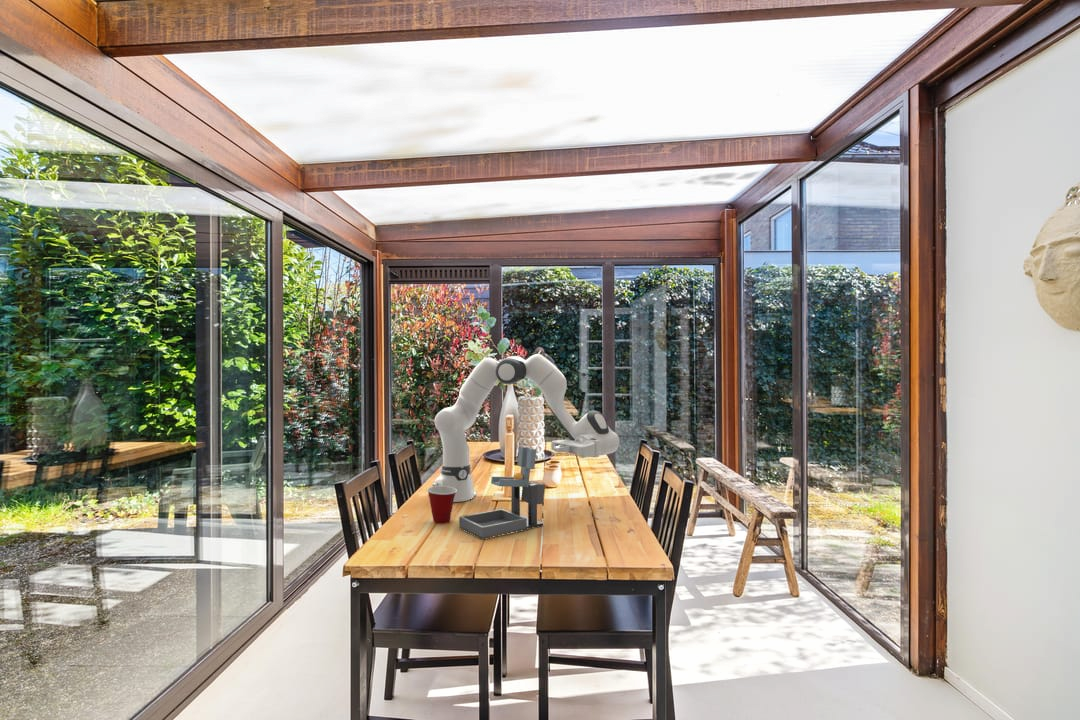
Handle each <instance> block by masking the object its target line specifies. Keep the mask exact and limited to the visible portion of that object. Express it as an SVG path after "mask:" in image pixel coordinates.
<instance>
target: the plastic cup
mask: <svg viewBox="0 0 1080 720" xmlns="http://www.w3.org/2000/svg"><path fill="white" fill-rule="evenodd" d="M426 491H427V493H429V495H428V497H429V502H430V508H431V509H430V510H431V514H432V520H433V523H434V524H447V522H448V523H450V520H451V517H452V512H453V505H454V502H453V501H454V496H455V493H456V492H457V489H455V488H453V487H447V486H434V487H432V486H430V487H427V489H426Z"/></svg>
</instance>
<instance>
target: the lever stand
mask: <svg viewBox="0 0 1080 720" xmlns="http://www.w3.org/2000/svg"><path fill="white" fill-rule="evenodd" d="M510 490H511V491H510V492H511V495H510V497H511V500H510V501H511V503H510V504H511V505H510V506H511V507H510V508H511V511H510V512H511V513H514V514H516V515H519V516H521V517H524V518H526V519H527V528H531V529H533V528H532V527H535V528H538V527H537V526H540V527H544V522H542V521H539V520H538V504H537V485H536V484H529V485H528V503H527V504H528V505H527V507H528V508H527V516H526V515H524V514H521V487H511V489H510Z"/></svg>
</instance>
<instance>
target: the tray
mask: <svg viewBox="0 0 1080 720" xmlns="http://www.w3.org/2000/svg"><path fill="white" fill-rule="evenodd" d="M458 521H459V524H458V525H459V529H460V528H461V529H460V530H462V529H463V530H462V531H464V530H465V531H464V532H466V531H467V533H468V532H469V533H468V534H470V533H471V534H470V535H472V534H473V535H472V536H474V535H475V536H474V537H476V536H477V537H476V538H478V537H479V538H478V539H480V540H482V539H483V540H487V539H486V538H488V539H491V538H490V537H493V536H497V537H499V536H498V535H502V534H507V533H511V532H516V531H521V530H526V531H527V530H528V529H527V519H526V518H524V517H521V516H519V515H516V514H514V513H511V511H509V510H505V509H504V508H501V509H500V508H499V509H495V510H490V511H489V510H488V511H484V512H477V513H473V514H467V515H466V514H465V515H461V516H459V520H458ZM521 532H522V531H521ZM507 535H508V534H507ZM502 536H503V535H502ZM493 538H494V537H493Z"/></svg>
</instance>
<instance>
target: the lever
mask: <svg viewBox="0 0 1080 720" xmlns="http://www.w3.org/2000/svg"><path fill="white" fill-rule="evenodd" d="M536 457H537V449H535V448H532V447H527V446H519V448H518V456H517V464H516V465H517V466H518V467H520V472H519V473H521V474H522V475H523V479H513V476H491V480H490V484H492V485H494V486H497V487H505V488H506V487H520V488H522V489H521V496H520V502H524V503H526V504H528V485H529V484H536V485H537V505H544V501H545V500H544V499H545V489H546V484H544V483H542V482H537V481H535V480H533V481H532V480H531V481H530V475H531V470H535V466H536V465H535V464H536Z"/></svg>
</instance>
